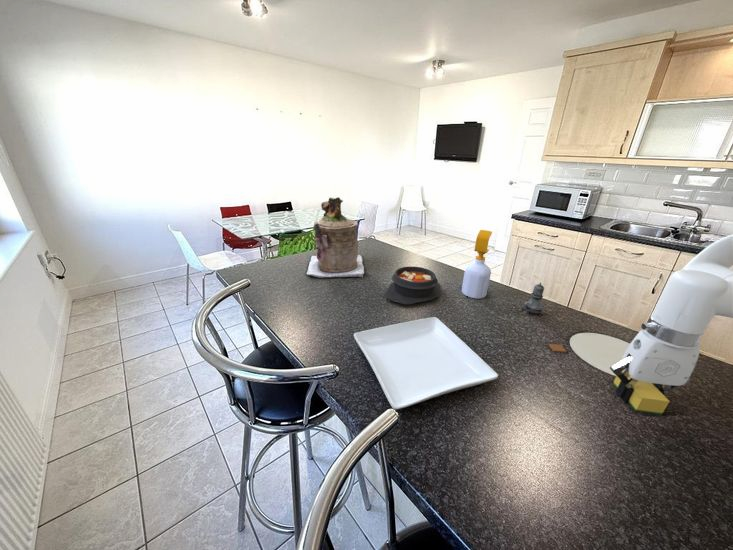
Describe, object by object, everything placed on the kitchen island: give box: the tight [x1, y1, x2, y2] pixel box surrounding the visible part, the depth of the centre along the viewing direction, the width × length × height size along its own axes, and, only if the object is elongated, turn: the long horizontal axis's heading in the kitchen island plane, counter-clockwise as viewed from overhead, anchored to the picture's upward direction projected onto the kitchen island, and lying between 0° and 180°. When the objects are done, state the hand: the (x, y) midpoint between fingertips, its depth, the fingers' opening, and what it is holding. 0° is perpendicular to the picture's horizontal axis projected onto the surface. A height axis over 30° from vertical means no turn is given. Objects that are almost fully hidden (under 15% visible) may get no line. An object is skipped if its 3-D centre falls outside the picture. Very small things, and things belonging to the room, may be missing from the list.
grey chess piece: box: [522, 282, 545, 315], centre depth 97 cm, size 6×6×12 cm
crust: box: [547, 343, 568, 353], centre depth 81 cm, size 4×3×2 cm
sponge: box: [612, 371, 670, 418], centre depth 65 cm, size 5×8×5 cm, turn 171°
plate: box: [569, 332, 631, 377], centre depth 79 cm, size 20×20×1 cm
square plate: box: [353, 316, 499, 410], centre depth 75 cm, size 27×27×4 cm
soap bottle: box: [461, 229, 493, 300], centre depth 108 cm, size 9×9×25 cm
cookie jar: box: [306, 196, 365, 279], centre depth 127 cm, size 25×25×32 cm
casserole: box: [384, 265, 441, 305], centre depth 110 cm, size 25×19×8 cm
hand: (635, 398), depth 65 cm, fingers closed on sponge, 5 cm apart
